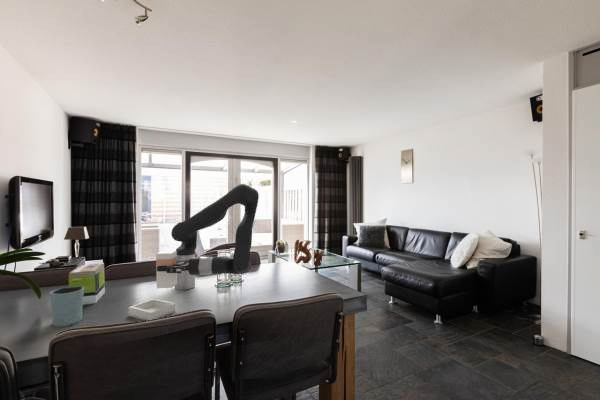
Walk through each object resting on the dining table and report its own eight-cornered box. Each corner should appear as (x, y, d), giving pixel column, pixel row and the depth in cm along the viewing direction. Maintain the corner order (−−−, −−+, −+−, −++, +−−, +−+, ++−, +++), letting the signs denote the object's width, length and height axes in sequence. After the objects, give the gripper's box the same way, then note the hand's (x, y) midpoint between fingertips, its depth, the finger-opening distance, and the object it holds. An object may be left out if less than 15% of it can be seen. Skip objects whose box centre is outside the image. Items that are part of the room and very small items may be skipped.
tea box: (80, 295, 139) (80, 264, 139) (105, 293, 143) (105, 262, 142) (68, 306, 125) (68, 272, 125) (96, 303, 128) (96, 269, 128)
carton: (156, 288, 119) (156, 253, 119) (162, 283, 125) (161, 250, 125) (172, 287, 119) (171, 253, 119) (177, 283, 125) (176, 250, 125)
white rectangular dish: (128, 315, 115) (128, 307, 115) (153, 306, 125) (153, 298, 125) (150, 322, 109) (150, 312, 109) (175, 311, 119) (175, 303, 119)
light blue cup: (60, 329, 103) (60, 295, 103) (43, 324, 107) (43, 291, 107) (90, 318, 113) (90, 287, 113) (73, 314, 117) (73, 284, 116)
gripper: (206, 253, 130) (166, 254, 129) (197, 260, 116) (153, 261, 114) (206, 270, 130) (167, 271, 129) (197, 279, 116) (153, 280, 115)
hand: (160, 266), depth 122 cm, fingers closed on carton, 6 cm apart
